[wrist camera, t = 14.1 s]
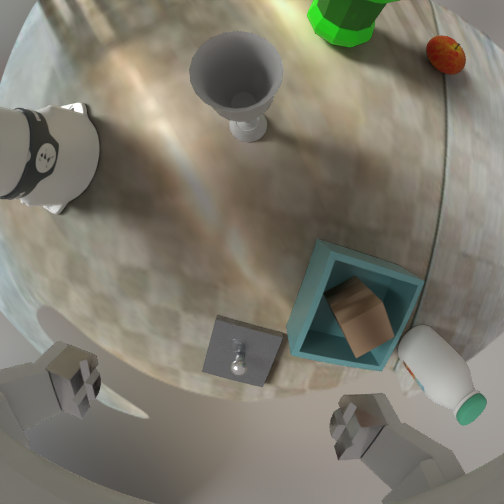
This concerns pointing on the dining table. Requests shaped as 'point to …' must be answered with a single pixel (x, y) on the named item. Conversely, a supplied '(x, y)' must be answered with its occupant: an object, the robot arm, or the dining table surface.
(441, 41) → the fruit
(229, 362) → the gray square plate
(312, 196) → the dining table surface
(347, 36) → the plastic bottle
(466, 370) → the milk bottle
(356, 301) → the brown wooden block
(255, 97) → the chalice
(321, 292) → the bin
